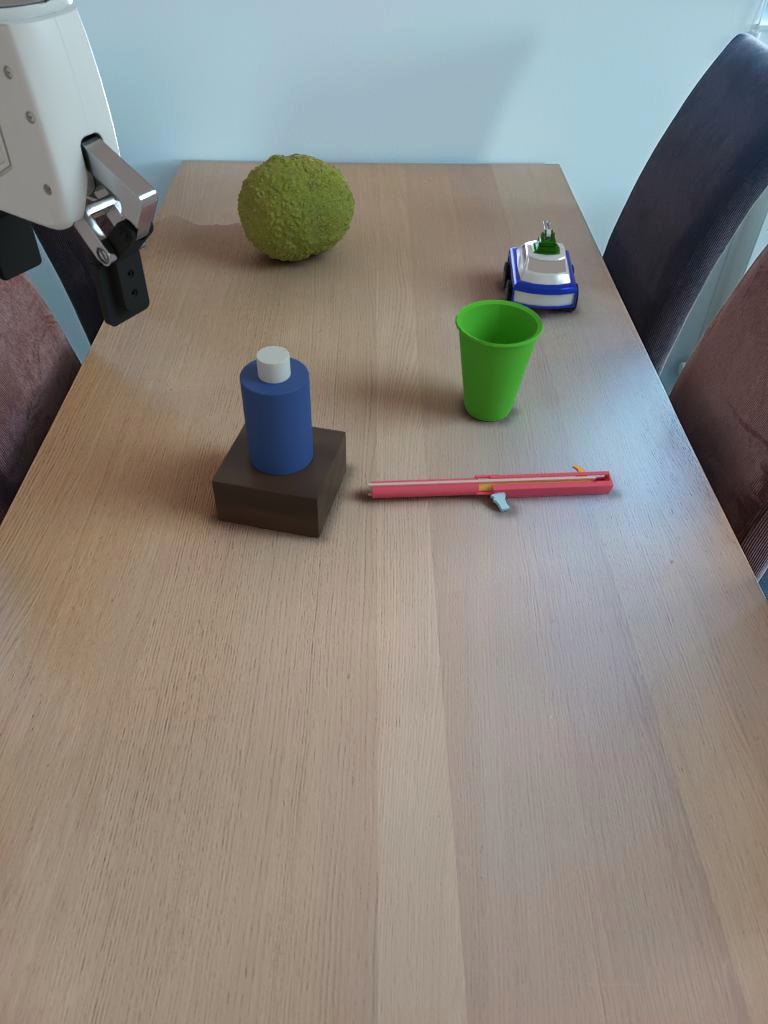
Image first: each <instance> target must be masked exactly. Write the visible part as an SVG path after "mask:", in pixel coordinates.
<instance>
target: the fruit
mask: <svg viewBox="0 0 768 1024" xmlns="http://www.w3.org/2000/svg"><path fill="white" fill-rule="evenodd" d="M350 187H351V186H350V184H349V182H348V181H347V178H346V176H345V175H344V174H343V173H342V172H341V169H339V168H337V167H336V166H335V165H334V164H330V162H329V163H328V162H325V161H324V160H323V161H322V159H320V158H317V157H315V156H313V155H307V154H302V153H297V152H296V153H293V154H289V155H285V154H282V155H281V154H272V155H270V156H269V157H268V158H267V159H266V160H265V161H262V163H261V164H260V165H258V166H255V167H254V168H253V169H251V170H250V171H249V173H248V174H247V176H246V178H244V180H242V184H241V187H240V188H241V189H240V190H239V193H238V195H237V197H238V198H237V212H238V213H237V215H238V216H239V222H240V224H241V227H242V229H243V232H244V235H245V238H246V239H248V242H250V243H252V245H253V246H254V247H255V248H257V249H258V251H260V252H262V253H263V254H265V255H268V257H269V258H270V259H273V260H280V261H282V262H287V261H289V262H291V263H292V262H298V261H299V262H300V261H302V260H305V259H308V258H309V257H310V256H312V255H314V256H318V255H320V254H321V253H325V252H327V251H330V250H332V249H333V248H334V247H335V246H336V245H337V244H338V243H339V242H340V241H342V240H343V239H344V236H345V235H346V234H347V231H349V230H350V228H351V227H350V225H351V223H352V220H353V216H354V211H355V205H356V202H355V198H354V195H353V191H352V190H351V188H350Z"/></svg>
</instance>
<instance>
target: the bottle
mask: <svg viewBox="0 0 768 1024" xmlns="http://www.w3.org/2000/svg"><path fill="white" fill-rule="evenodd" d="M239 386H240V394H241V401H242V410H243V417H244V424H245V426H246V434H247V443H248V451H249V458H250V461H251V463H252V465H253V466H254V467H255V468H256V469H258V470H259V471H261V472H263V473H266V474H270V475H288V474H293V473H296V472H298V471H300V470H302V469H304V468H305V467H306V466H307V465H308V464H309V463H310V462H311V460H312V458H313V436H312V426H313V420H312V419H313V417H312V400H311V381H310V371H309V368H308V366H306V364H305V363H304V362H302V361H300V360H299V359H296V358H294V357H290V352H289V351H288V349H287V348H284V347H282V346H278V345H269V346H265V347H263V348H261V349H259V350H258V351H257V353H256V355H255V359H254V360H252V361H250V362H248V363H246V364H245V366H244V367H243V368H242V369H241V370H240V373H239Z"/></svg>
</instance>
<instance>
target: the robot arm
mask: <svg viewBox="0 0 768 1024" xmlns="http://www.w3.org/2000/svg"><path fill="white" fill-rule="evenodd" d="M73 2H74V0H0V280H2V281H9V280H12V279H14V278H17V276H20V275H22V274H24V273H26V272H28V271H30V270H32V269H34V268H36V267H38V266H41V264H42V263H43V259H42V255H41V252H40V249H39V245H38V242H37V237H36V234H35V232H34V228H33V227H34V226H33V225H32V223H33V224H37V225H40V226H41V227H42V226H43V227H45V228H48V229H52V230H55V231H63V230H66V229H70V228H71V227H72V226H74V228H75V230H76V231H77V232H78V234H79V235H80V236H81V238H82V239H83V241H84V242H85V244H86V246H88V248H89V249H90V251H91V252H92V254H93V255H94V256H95V258H96V260H94V261H92V262H90V263H89V264H90V265H89V266H90V270H91V274H92V278H93V282H94V286H95V290H96V295H97V299H98V302H99V306H100V310H101V314H102V318H103V321H104V323H105V324H107V325H109V326H111V327H114V328H115V327H117V326H119V325H121V324H123V323H125V322H127V321H128V320H130V319H131V318H133V317H135V316H137V315H139V314H140V313H141V312H144V311H146V310H147V309H148V308H149V306H150V296H149V291H148V285H147V280H146V276H145V270H144V265H143V260H142V255H141V252H140V251H141V250H143V249H144V248H146V247H147V240H148V239H149V238H150V236H151V235H152V233H153V231H154V227H155V226H154V220H155V214H156V211H157V208H158V202H159V194H158V192H157V190H156V189H155V187H154V186H153V185H152V184H151V183H150V182H149V181H147V179H145V178H144V177H143V176H142V175H141V174H140V173H139V172H137V171H136V169H134V167H132V166H131V165H130V164H129V163H127V161H126V160H125V159H123V158H122V157H121V152H120V148H119V144H118V142H119V141H118V139H117V135H116V134H117V133H116V130H115V129H116V128H115V125H114V120H113V117H112V114H111V110H110V106H109V103H108V99H107V95H106V92H105V87H104V85H103V81H102V77H101V75H100V71H99V68H98V64H97V61H96V58H95V55H94V53H93V49H92V46H91V43H90V40H89V37H88V35H87V31H86V29H85V26H84V23H83V21H82V18H81V16H80V13H79V10H78V8H77V6H75V5H73ZM87 200H89V201H91V202H89V203H87ZM104 215H106V217H107V219H108V220H109V221H110V222H111V224H112V226H113V227H112V229H111V231H110V232H109V233H108V235H107V236H106V234H105V233H104V231H103V230H102V229H101V228H100V226H99V225H98V223H97V222H96V220H95V219H98V218H99V217H101V216H104Z"/></svg>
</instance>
